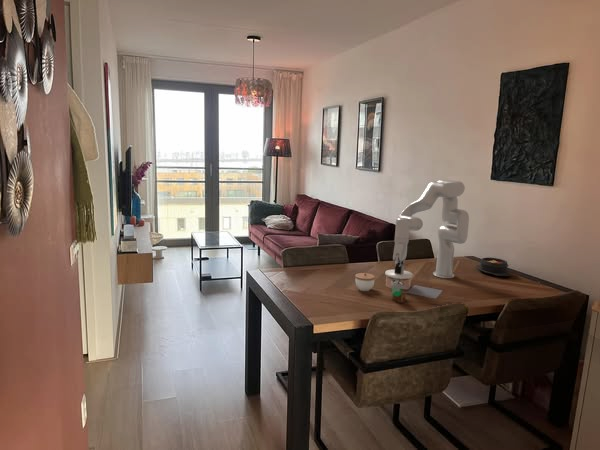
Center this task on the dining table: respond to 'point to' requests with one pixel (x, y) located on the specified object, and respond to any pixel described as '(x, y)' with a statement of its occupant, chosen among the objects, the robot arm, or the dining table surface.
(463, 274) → the dining table surface
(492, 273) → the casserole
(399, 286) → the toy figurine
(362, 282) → the lidded jar
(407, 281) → the bowl
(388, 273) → the lid
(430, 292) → the mat
